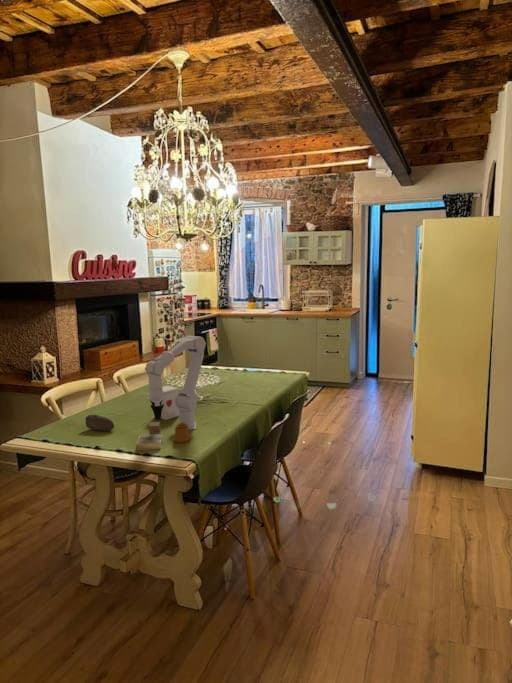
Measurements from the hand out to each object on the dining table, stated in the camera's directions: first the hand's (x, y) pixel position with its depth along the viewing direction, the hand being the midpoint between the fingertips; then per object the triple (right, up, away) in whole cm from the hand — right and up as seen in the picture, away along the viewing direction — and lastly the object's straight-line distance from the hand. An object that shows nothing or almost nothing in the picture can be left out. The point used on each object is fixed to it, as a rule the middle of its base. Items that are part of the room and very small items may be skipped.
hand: (157, 417), depth 218 cm
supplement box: (-1, -5, +32) cm, 32 cm away
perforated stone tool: (-30, -9, +14) cm, 34 cm away
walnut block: (-2, -10, +4) cm, 10 cm away
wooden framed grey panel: (-2, -11, -6) cm, 13 cm away
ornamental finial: (+11, -10, -2) cm, 15 cm away
